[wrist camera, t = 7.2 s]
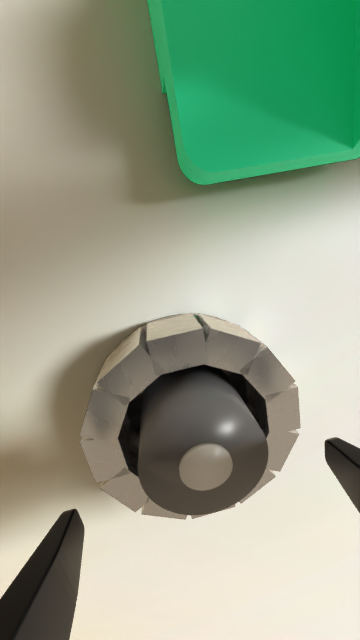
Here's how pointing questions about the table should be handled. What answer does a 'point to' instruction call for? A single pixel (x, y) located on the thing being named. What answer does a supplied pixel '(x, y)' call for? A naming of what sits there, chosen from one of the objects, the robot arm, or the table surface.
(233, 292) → the table surface
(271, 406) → the grey piece
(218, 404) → the cap
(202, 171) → the camera mount
